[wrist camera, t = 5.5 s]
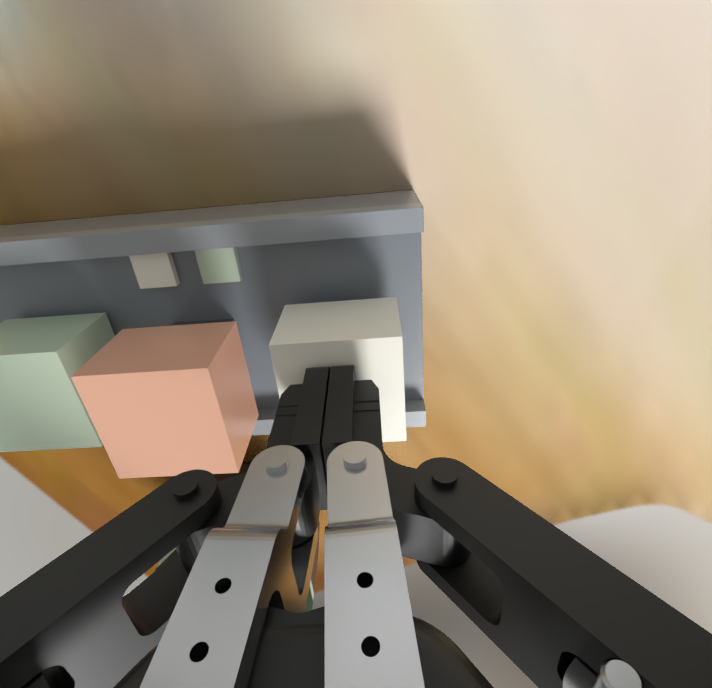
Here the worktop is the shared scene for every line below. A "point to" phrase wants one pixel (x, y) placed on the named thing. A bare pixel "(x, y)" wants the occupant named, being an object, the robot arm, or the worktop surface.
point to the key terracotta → (171, 399)
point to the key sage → (47, 381)
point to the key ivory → (346, 349)
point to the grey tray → (227, 272)
